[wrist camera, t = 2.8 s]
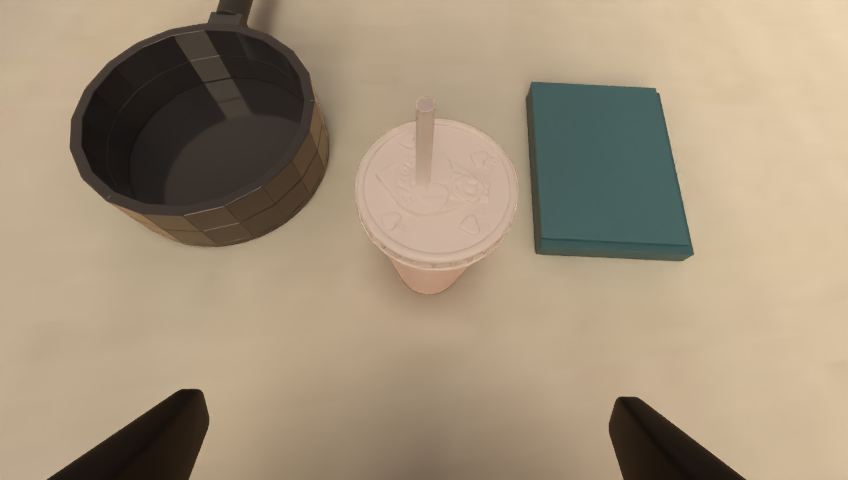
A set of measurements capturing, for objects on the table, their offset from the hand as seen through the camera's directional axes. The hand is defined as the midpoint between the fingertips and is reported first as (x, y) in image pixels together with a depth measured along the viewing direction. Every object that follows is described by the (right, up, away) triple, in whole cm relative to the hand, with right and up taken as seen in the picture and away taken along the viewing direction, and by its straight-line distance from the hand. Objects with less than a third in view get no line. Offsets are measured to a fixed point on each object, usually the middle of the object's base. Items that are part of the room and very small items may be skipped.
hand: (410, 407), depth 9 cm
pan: (-13, +9, +18) cm, 24 cm away
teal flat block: (+12, +8, +18) cm, 23 cm away
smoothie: (+1, +2, +16) cm, 16 cm away
